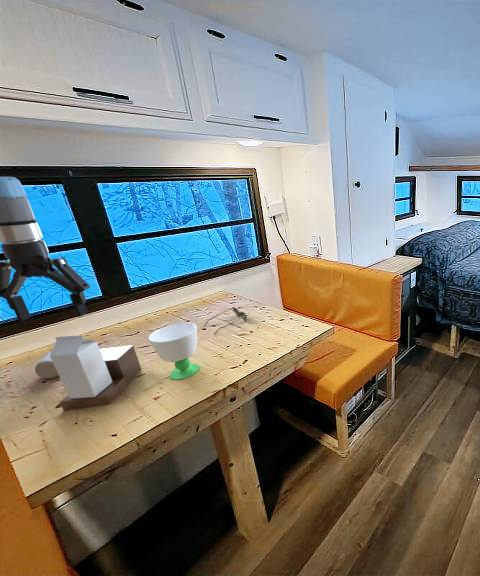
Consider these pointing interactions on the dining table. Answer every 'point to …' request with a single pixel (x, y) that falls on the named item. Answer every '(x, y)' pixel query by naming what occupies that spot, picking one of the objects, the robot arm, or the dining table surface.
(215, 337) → the dining table surface
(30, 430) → the dining table surface
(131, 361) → the shelf stand
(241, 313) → the sunglasses
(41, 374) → the ceramic mug
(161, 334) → the cup
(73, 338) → the milk carton
